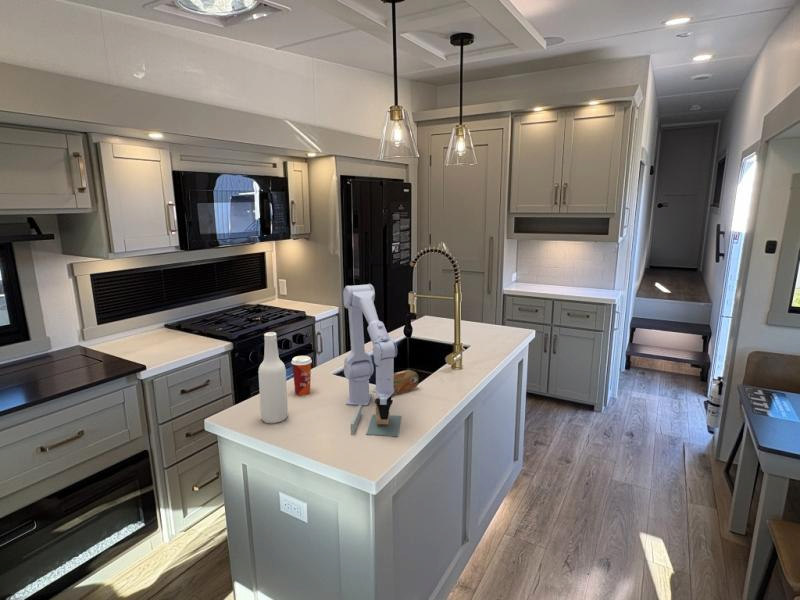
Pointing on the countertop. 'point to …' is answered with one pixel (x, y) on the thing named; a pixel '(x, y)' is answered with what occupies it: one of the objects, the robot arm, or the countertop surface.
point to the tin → (405, 382)
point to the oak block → (378, 419)
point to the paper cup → (302, 374)
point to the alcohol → (272, 383)
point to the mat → (384, 427)
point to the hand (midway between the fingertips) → (384, 415)
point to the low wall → (356, 419)
